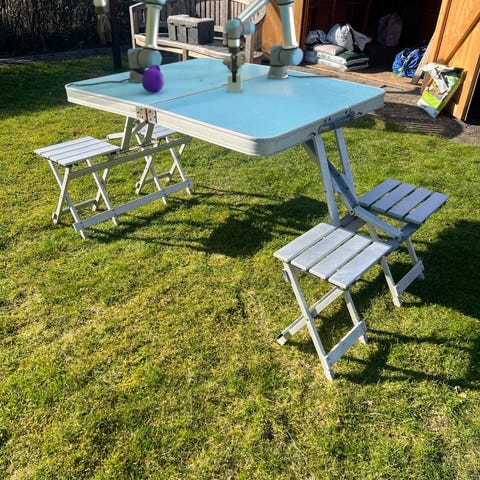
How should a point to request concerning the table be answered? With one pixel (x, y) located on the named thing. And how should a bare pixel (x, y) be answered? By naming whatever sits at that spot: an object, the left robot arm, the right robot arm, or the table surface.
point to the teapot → (229, 61)
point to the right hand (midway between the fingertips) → (234, 80)
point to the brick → (235, 86)
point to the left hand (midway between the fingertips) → (106, 42)
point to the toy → (152, 79)
